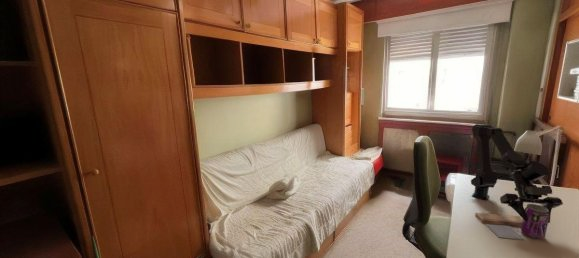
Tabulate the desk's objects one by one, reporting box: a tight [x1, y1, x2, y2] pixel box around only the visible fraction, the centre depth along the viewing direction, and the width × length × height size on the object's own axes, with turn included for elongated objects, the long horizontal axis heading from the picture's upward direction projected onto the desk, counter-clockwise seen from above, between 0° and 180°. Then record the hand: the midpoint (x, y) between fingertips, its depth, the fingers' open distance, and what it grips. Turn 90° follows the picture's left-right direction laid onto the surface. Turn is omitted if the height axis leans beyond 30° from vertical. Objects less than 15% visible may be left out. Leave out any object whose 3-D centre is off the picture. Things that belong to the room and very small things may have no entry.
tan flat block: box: [474, 212, 523, 227], centre depth 110 cm, size 20×6×2 cm, turn 79°
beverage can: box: [520, 203, 549, 239], centre depth 99 cm, size 7×7×12 cm
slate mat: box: [485, 223, 526, 241], centre depth 102 cm, size 9×9×1 cm
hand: (537, 221), depth 98 cm, fingers closed on beverage can, 7 cm apart
